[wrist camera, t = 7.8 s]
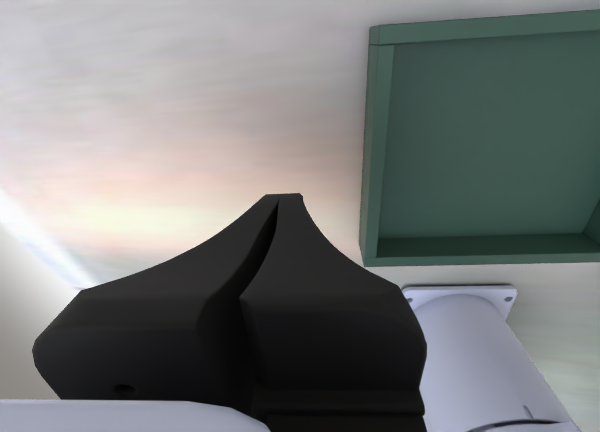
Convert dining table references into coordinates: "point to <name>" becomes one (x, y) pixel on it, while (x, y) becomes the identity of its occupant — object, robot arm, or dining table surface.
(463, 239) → the tray
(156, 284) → the robot arm
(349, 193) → the dining table surface
